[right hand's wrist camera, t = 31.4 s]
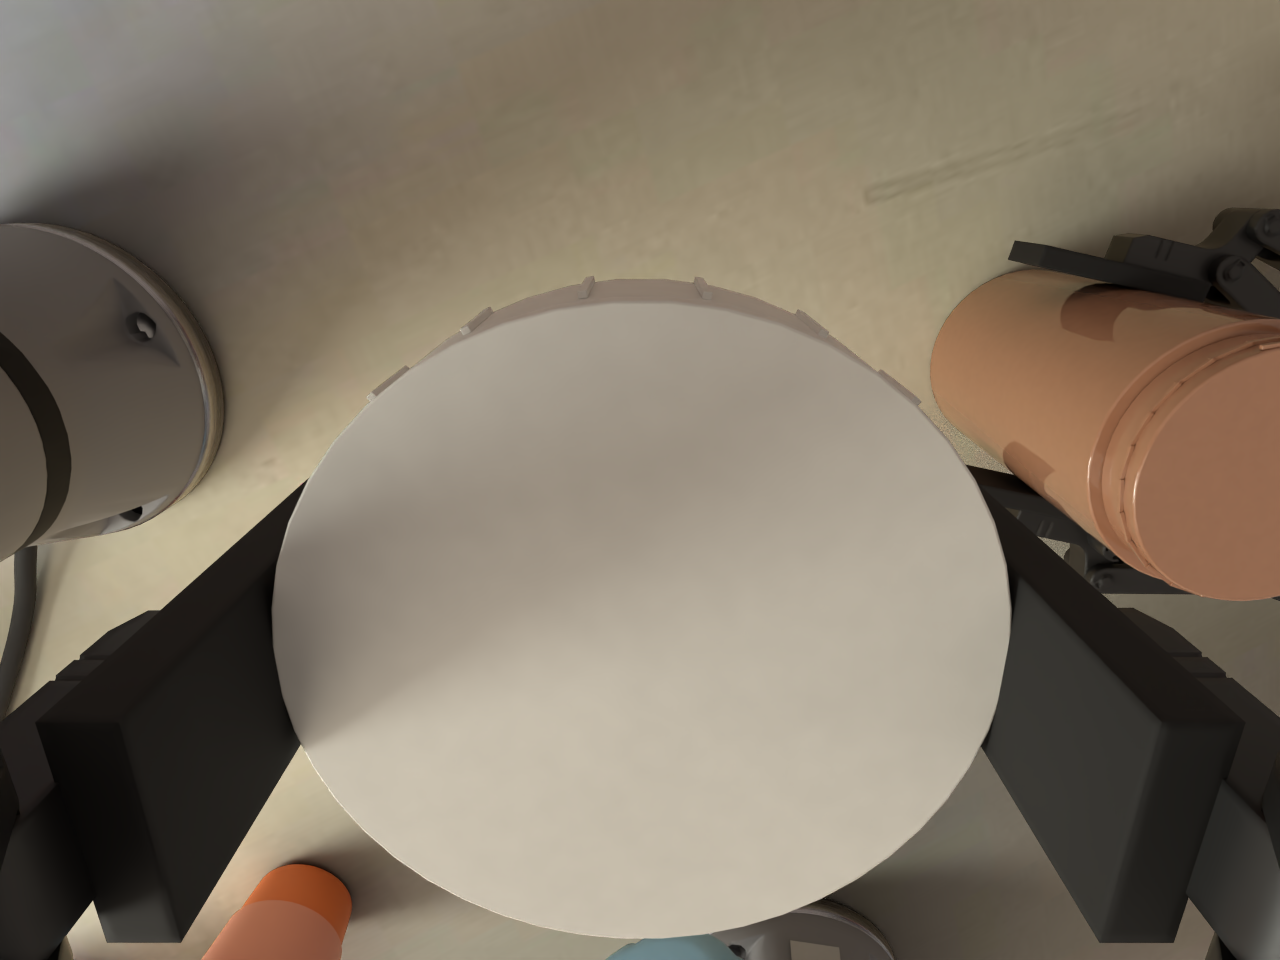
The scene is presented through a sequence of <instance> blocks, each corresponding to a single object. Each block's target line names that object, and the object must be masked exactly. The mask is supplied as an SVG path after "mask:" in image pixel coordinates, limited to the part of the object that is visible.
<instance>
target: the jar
mask: <svg viewBox="0 0 1280 960" xmlns="http://www.w3.org/2000/svg"><path fill="white" fill-rule="evenodd" d="M930 378H931V386H932V390H933V394H934V397H935V400H936V402H937V404H938V407H939V408H940V410H941V412H942V413H943V415H944V416H945V417H946V419H947V420H948V421H949V422H950V423H951V424H952V425H953V426H954V427H955V428H956V429H958V430H959V431H960V432H961V433H963V434H964V435H965V436H966V437H968V438H969V439H970V440H971V441H973V442H974V443H975V444H976V445H978V446H979V447H980V448H981V449H983V450H984V451H985V452H986V453H988V454H989V455H990V456H991V457H993V458H994V459H995V460H996V461H998V462H999V463H1000V464H1001V465H1003V466H1004V467H1005V468H1007V469H1008V470H1009V471H1010V472H1012V473H1013V474H1014V475H1015V476H1017V477H1018V478H1019V479H1020V480H1022V481H1023V482H1024V483H1025V484H1027V485H1028V486H1029V487H1030V488H1032V489H1033V490H1034V491H1035V492H1037V493H1038V494H1039V495H1040V496H1042V497H1043V498H1044V499H1045V500H1047V501H1048V502H1049V503H1051V504H1052V505H1053V506H1054V507H1056V508H1057V509H1058V510H1059V511H1061V512H1062V513H1063V514H1064V515H1066V516H1067V517H1068V518H1069V519H1071V520H1072V521H1073V522H1074V523H1076V524H1077V525H1078V526H1079V527H1081V528H1082V529H1083V530H1084V531H1086V532H1087V533H1088V534H1089V535H1091V536H1092V537H1093V538H1095V539H1096V540H1097V541H1098V542H1100V543H1101V544H1102V545H1103V546H1105V547H1106V548H1107V549H1108V550H1110V551H1111V552H1112V553H1113V554H1115V555H1116V556H1117V557H1118V558H1120V559H1121V560H1122V561H1123V562H1125V563H1126V564H1128V565H1129V566H1131V567H1133V568H1134V569H1136V570H1138V571H1140V572H1142V573H1144V574H1147V575H1149V576H1151V577H1154V578H1158V579H1162V580H1164V581H1165V582H1166V583H1168V584H1169V585H1170V586H1172V587H1175V588H1178V589H1181V590H1184V591H1187V592H1190V593H1193V594H1196V595H1199V596H1201V597H1208V598H1214V599H1221V600H1228V601H1249V600H1260V599H1266V598H1271V597H1276V596H1280V318H1276V317H1272V316H1267V315H1262V314H1257V313H1252V312H1247V311H1243V310H1238V309H1233V308H1228V307H1223V306H1218V305H1214V304H1209V303H1204V302H1199V301H1194V300H1189V299H1185V298H1180V297H1175V296H1170V295H1165V294H1160V293H1156V292H1150V291H1145V290H1140V289H1136V288H1131V287H1126V286H1121V285H1116V284H1112V283H1107V282H1103V281H1098V280H1093V279H1088V278H1083V277H1078V276H1074V275H1069V274H1064V273H1059V272H1054V271H1048V270H1023V271H1017V272H1013V273H1008V274H1005V275H1002V276H1000V277H997V278H995V279H993V280H991V281H989V282H987V283H985V284H983V285H981V286H980V287H979V288H977V289H976V290H974V291H973V292H971V293H970V294H969V295H968V296H967V297H966V298H964V299H963V300H962V301H961V302H960V303H959V304H958V306H957V307H956V308H955V309H954V310H953V311H952V313H951V314H950V315H949V317H948V318H947V319H946V321H945V323H944V325H943V326H942V328H941V330H940V332H939V334H938V337H937V339H936V342H935V345H934V349H933V352H932V358H931V365H930Z"/></svg>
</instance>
